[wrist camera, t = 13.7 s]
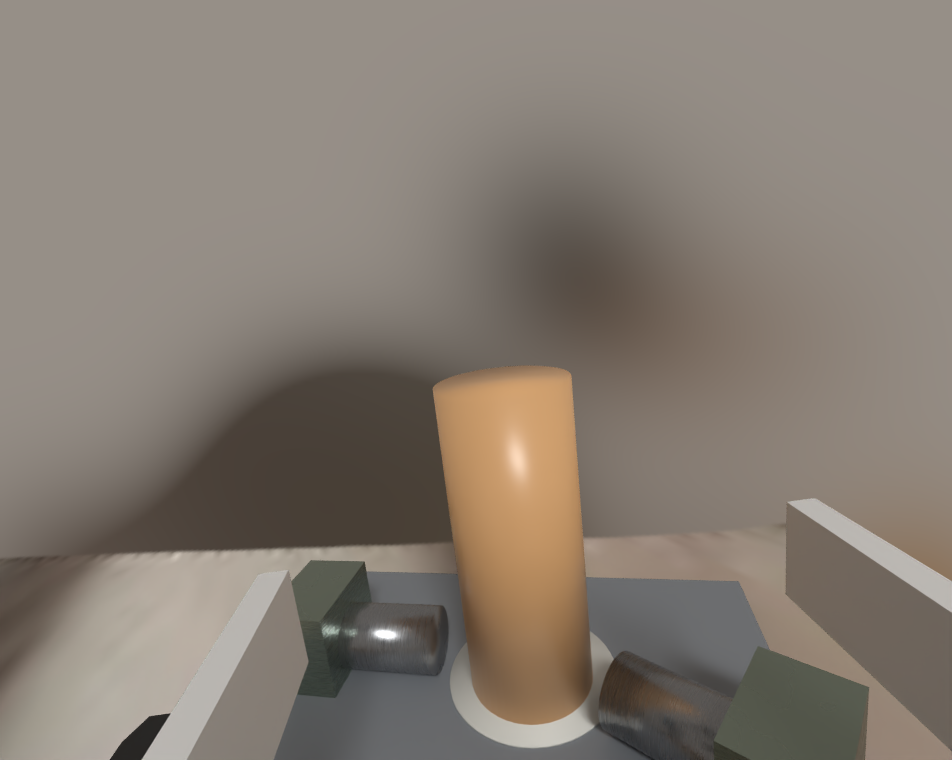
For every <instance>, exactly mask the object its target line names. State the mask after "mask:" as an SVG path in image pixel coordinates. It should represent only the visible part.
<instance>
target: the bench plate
mask: <svg viewBox="0 0 952 760" xmlns="http://www.w3.org/2000/svg"><path fill="white" fill-rule="evenodd" d="M367 578H368V583H369V589H370V594H371V600H372V602H376V603H400V604H424V605H442V606H444V607H445V609H446V612H447V617H448V626H449V637H448V648H447V654H446V659H445V663H444V666H443V668H442V670H441V672H440V674H439V675H424V674H411V673H398V672H385V671H372V670H359V669H352V671H351V673H350V674H349V676H348V678H347V680H346V681H345V683H344V685H343V686H342V688H341V690H340V692H339V693H338V695H337V697H336V698H328V697H317V696H306V695H297V696H296V698H295V701H294V704H293V707H292V710H291V712H290V715H289V718H288V721H287V724H286V726H285V729H284V732H283V735H282V737H281V740H280V743H279V746H278V749H277V751H276V754H275V757H274V760H655V759H653V758H651V757H650V756H648V755H646V754H645V753H643V752H641V751H639V750H638V749H636V748H634V747H633V746H631V745H629V744H627V743H626V742H624V741H622V740H621V739H619V738H617V737H615V736H614V735H612V734H610V733H609V732H607V731H605V730H604V729H602V727H601V725H600V722H599V717H598V705H599V697H600V692H601V688H602V684H603V681H604V678H605V675H606V673H607V671H608V669H609V667H610V665H611V663H612V661H613V660H614V658H615V657H616V656H617V655H618V654H619V653H620V652H622V651H629V652H631V653H633V654H636V655H638V656H640V657H642V658H644V659H647V660H649V661H651V662H653V663H656V664H658V665H660V666H662V667H664V668H667V669H669V670H671V671H673V672H676V673H678V674H680V675H682V676H684V677H687V678H689V679H691V680H693V681H695V682H698V683H700V684H702V685H704V686H707V687H709V688H711V689H713V690H715V691H718V692H720V693H722V694H724V695H727V696H729V697H731V698H734V696H735V694H736V692H737V689H738V687H739V685H740V683H741V681H742V679H743V677H744V674H745V672H746V670H747V668H748V666H749V664H750V662H751V659H752V657H753V655H754V653H755V651H756V649H757V647H758V646H760V647H762V648H765V649H768V650H770V649H769V647H768V645H767V643H766V641H765V638H764V636H763V634H762V632H761V630H760V627H759V625H758V623H757V621H756V619H755V616H754V614H753V612H752V610H751V608H750V605H749V603H748V601H747V599H746V597H745V594H744V592H743V590H742V588H741V586H740V583H739V581H705V580H667V579H629V578H591V577H586V586H587V600H588V614H589V627H590V641H591V655H592V669H593V683H592V687H591V690H590V693H589V695H588V697H587V698H586V700H585V701H584V702H583V703H582V705H581V706H580V707H579V708H578V709H576V710H575V711H574V712H573V713H571V714H569V715H568V716H566V717H564V718H562V719H560V720H557V721H554V722H551V723H546V724H539V725H523V724H517V723H513V722H510V721H506V720H504V719H502V718H499V717H498V716H496V715H494V714H493V713H491V712H490V711H489V710H488V709H486V708H485V707H484V706H483V704H482V703H481V702H480V701H479V699H478V698H477V696H476V694H475V691H474V688H473V684H472V676H471V669H470V661H469V654H468V646H467V639H466V632H465V624H464V617H463V609H462V602H461V595H460V587H459V580H458V574H440V573H402V572H367Z"/></svg>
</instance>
